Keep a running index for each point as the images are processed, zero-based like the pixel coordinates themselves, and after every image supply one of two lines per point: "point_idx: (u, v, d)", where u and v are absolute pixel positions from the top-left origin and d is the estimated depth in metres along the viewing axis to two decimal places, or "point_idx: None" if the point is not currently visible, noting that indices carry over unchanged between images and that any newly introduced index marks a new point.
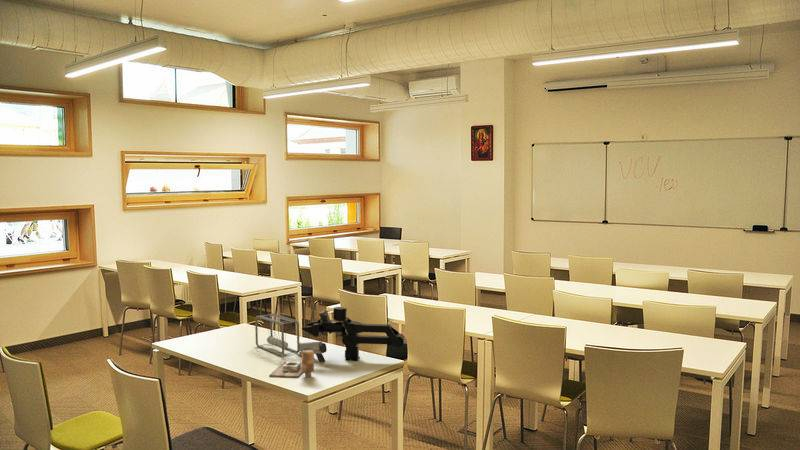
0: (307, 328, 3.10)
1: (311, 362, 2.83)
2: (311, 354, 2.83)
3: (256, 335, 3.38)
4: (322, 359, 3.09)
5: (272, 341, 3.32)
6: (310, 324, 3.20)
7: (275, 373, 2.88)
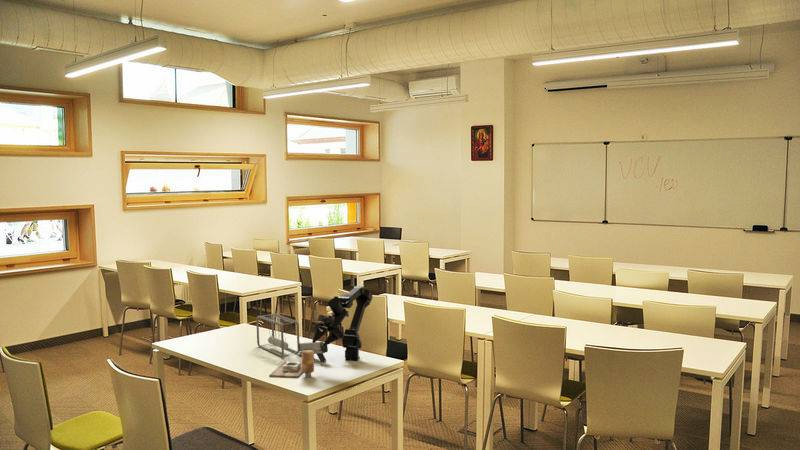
0: (328, 340, 2.88)
1: (311, 362, 2.83)
2: (311, 354, 2.83)
3: (257, 335, 3.38)
4: (323, 359, 3.10)
5: (273, 341, 3.32)
6: (315, 339, 2.95)
7: (275, 373, 2.88)
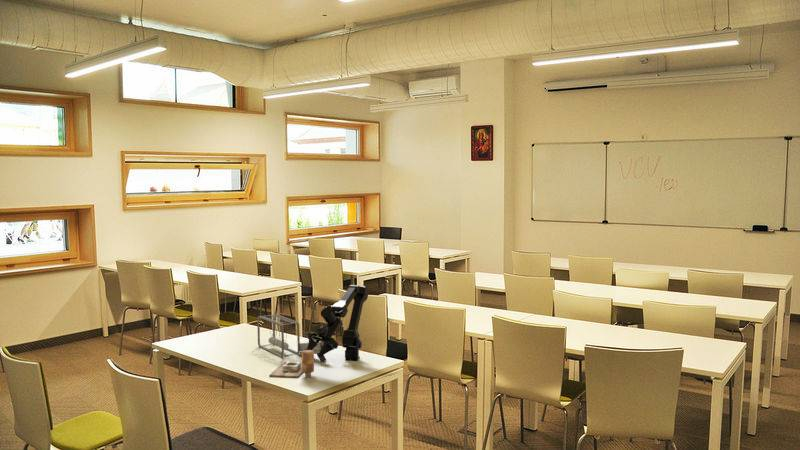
0: (323, 351, 2.84)
1: (311, 362, 2.83)
2: (311, 354, 2.83)
3: (258, 335, 3.38)
4: (323, 359, 3.10)
5: (273, 342, 3.32)
6: (309, 349, 2.91)
7: (275, 373, 2.88)
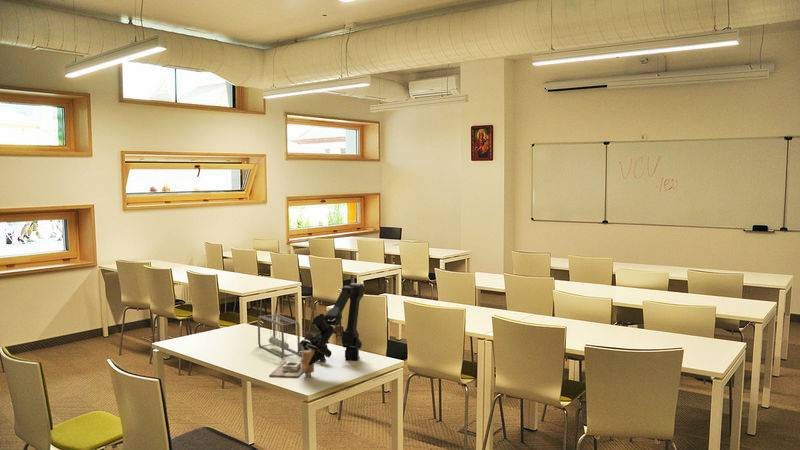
0: (314, 359, 2.82)
1: None
2: (311, 354, 2.83)
3: (258, 335, 3.38)
4: (323, 359, 3.10)
5: (274, 342, 3.32)
6: None
7: (275, 373, 2.88)
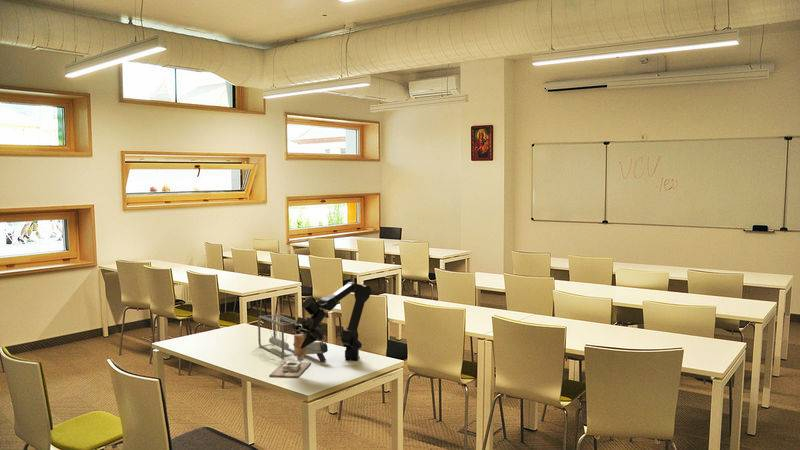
0: (306, 342, 2.86)
1: None
2: (303, 337, 2.87)
3: (259, 335, 3.39)
4: (323, 359, 3.10)
5: (274, 342, 3.32)
6: None
7: (275, 373, 2.88)
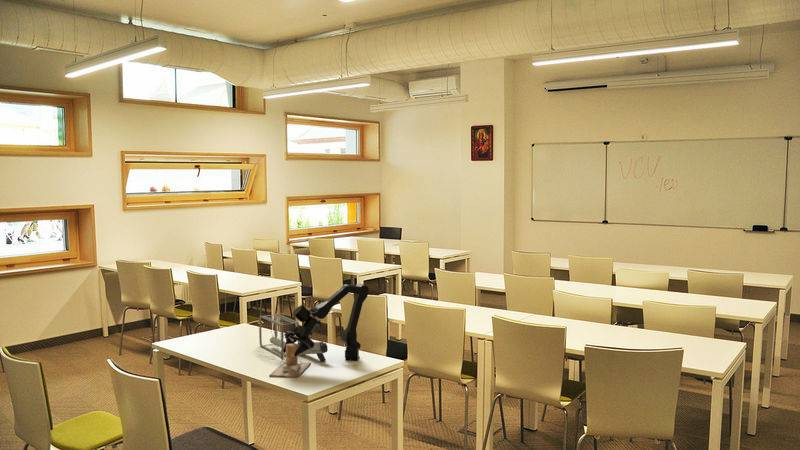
0: (299, 350, 2.90)
1: None
2: (295, 347, 2.92)
3: (260, 335, 3.39)
4: (323, 359, 3.10)
5: (274, 341, 3.32)
6: None
7: (275, 373, 2.88)
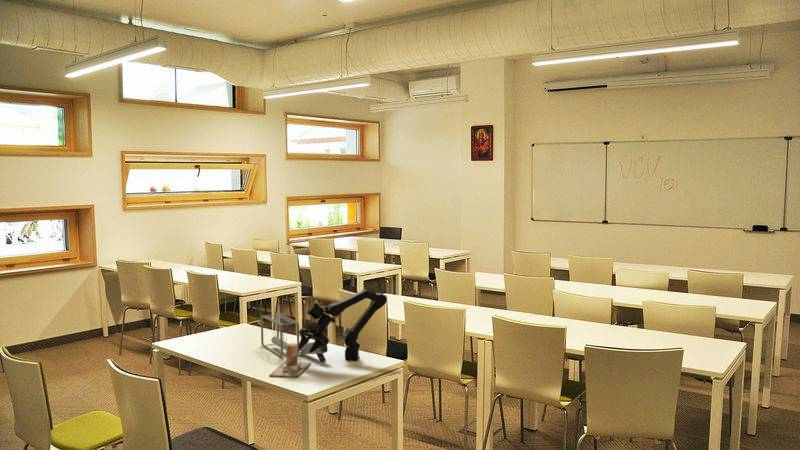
0: (314, 347, 2.96)
1: (295, 355, 2.92)
2: (295, 347, 2.92)
3: (261, 335, 3.40)
4: (323, 359, 3.10)
5: (275, 341, 3.32)
6: (301, 345, 3.03)
7: (275, 373, 2.88)
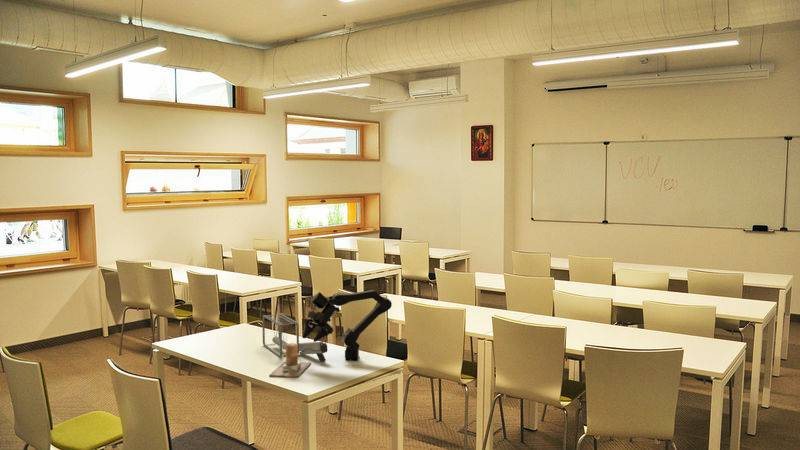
0: (318, 336, 2.98)
1: (295, 355, 2.92)
2: (295, 347, 2.92)
3: (263, 334, 3.40)
4: (323, 359, 3.10)
5: (276, 341, 3.33)
6: (305, 334, 3.04)
7: (275, 373, 2.88)
